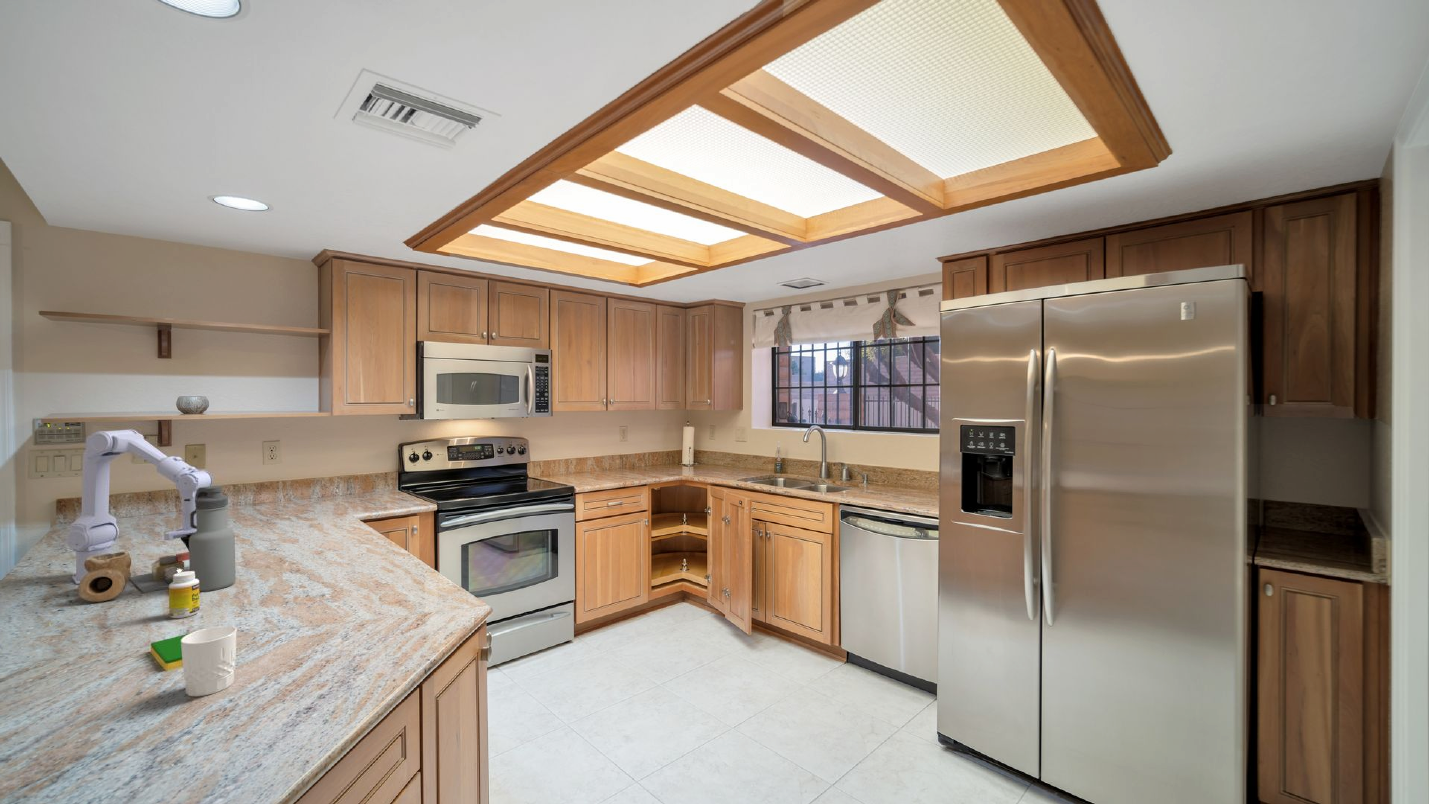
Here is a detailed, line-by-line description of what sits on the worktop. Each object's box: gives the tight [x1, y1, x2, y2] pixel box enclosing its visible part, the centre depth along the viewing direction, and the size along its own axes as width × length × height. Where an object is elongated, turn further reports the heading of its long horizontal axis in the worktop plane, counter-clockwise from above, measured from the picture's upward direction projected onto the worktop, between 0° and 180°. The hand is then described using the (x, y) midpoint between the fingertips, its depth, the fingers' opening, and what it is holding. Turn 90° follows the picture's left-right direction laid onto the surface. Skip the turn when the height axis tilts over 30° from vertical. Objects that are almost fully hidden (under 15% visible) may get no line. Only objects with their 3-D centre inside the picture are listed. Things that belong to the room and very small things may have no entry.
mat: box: [129, 565, 190, 594], centre depth 173 cm, size 20×17×1 cm
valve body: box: [151, 559, 185, 585], centre depth 172 cm, size 16×6×5 cm, turn 53°
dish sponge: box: [150, 632, 192, 672], centre depth 123 cm, size 7×14×2 cm, turn 53°
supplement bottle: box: [168, 571, 201, 619], centre depth 145 cm, size 6×6×10 cm
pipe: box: [78, 551, 132, 603], centre depth 159 cm, size 9×16×10 cm, turn 39°
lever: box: [158, 551, 189, 564], centre depth 175 cm, size 12×4×2 cm, turn 143°
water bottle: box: [188, 485, 237, 593], centre depth 165 cm, size 10×10×28 cm
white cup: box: [181, 625, 238, 697], centre depth 110 cm, size 8×8×10 cm
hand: (196, 559), depth 173 cm, fingers closed
